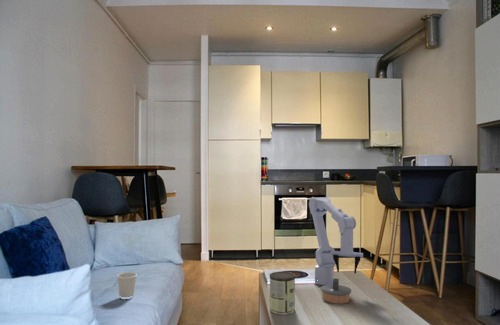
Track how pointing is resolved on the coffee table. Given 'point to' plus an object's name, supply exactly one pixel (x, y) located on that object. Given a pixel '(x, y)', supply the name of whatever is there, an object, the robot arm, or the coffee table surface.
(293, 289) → the coffee can
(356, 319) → the coffee table surface
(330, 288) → the lid
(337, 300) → the bowl
